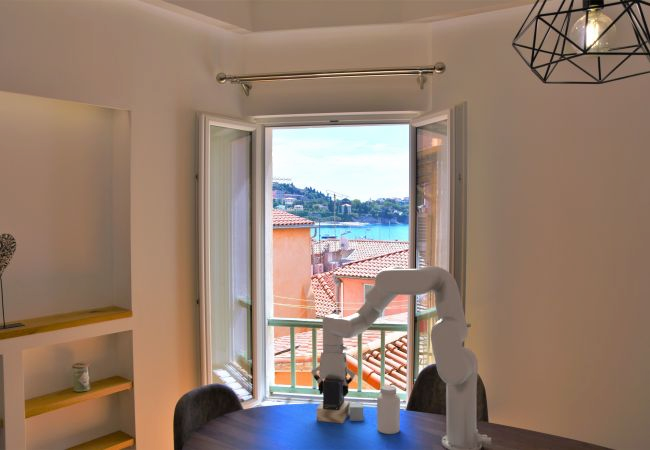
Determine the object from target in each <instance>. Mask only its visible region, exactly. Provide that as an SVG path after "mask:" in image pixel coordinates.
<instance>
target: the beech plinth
mask: <svg viewBox="0 0 650 450" xmlns="http://www.w3.org/2000/svg"><path fill="white" fill-rule="evenodd" d="M349 416H350V401H349V400H348V401H345V400H344V402H343V404H342V405H341V407H340V409H339V410H331V409H323V401H322V402H321V403H320V404H319V405H318V406H317V407H316V421H319V422H326V423H327V422H328V423H336V424H344V422H345V421H346V419H347V418H348V417H349Z"/></svg>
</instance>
